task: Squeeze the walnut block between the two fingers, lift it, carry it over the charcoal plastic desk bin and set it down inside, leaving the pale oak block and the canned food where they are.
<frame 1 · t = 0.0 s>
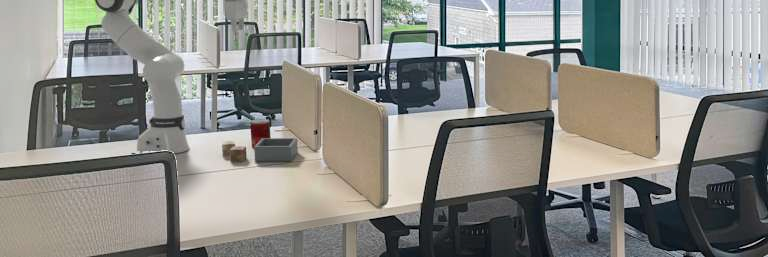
hand: (238, 30, 281), 48 cm above the table, tool pointing down, fingers open, 8 cm apart
canned food: (261, 147, 296), on the table
oak block: (229, 154, 284), on the table
bin: (276, 157, 278), on the table
walnut block: (238, 160, 275), on the table
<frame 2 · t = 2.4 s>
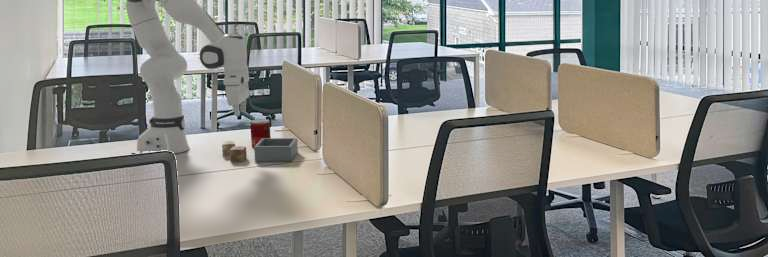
hand: (240, 113, 273), 18 cm above the table, tool pointing down, fingers open, 8 cm apart
nothing on the table moved.
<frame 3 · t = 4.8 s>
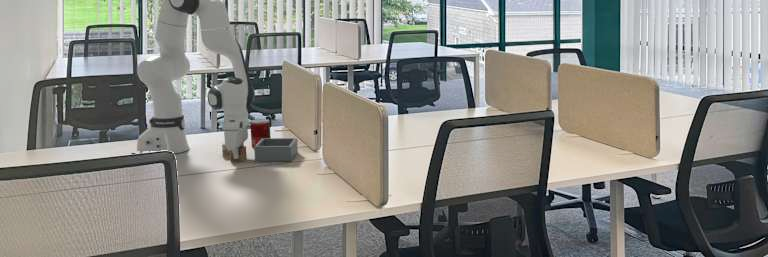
hand: (238, 156, 275), 2 cm above the table, tool pointing down, fingers closed on walnut block, 5 cm apart
walnut block: (238, 160, 275), on the table, touching gripper
everything else where it was.
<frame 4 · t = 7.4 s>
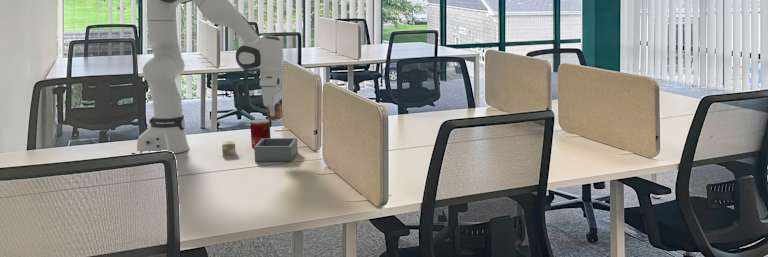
hand: (274, 114, 275), 17 cm above the table, tool pointing down, fingers closed on walnut block, 5 cm apart
walnut block: (274, 118, 275), point 16 cm above the table, touching gripper
everything else where it was.
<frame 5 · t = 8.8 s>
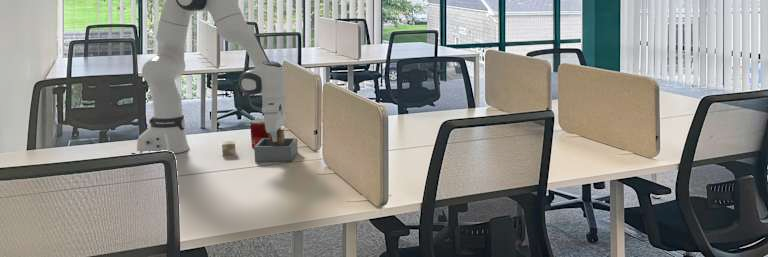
hand: (276, 139, 277), 7 cm above the table, tool pointing down, fingers closed on walnut block, 5 cm apart
walnut block: (277, 143, 277), point 6 cm above the table, touching gripper
everything else where it was.
when the fingers open (5 cm above the table, at t = 9.7 s): walnut block drops 2 cm, resting on bin.
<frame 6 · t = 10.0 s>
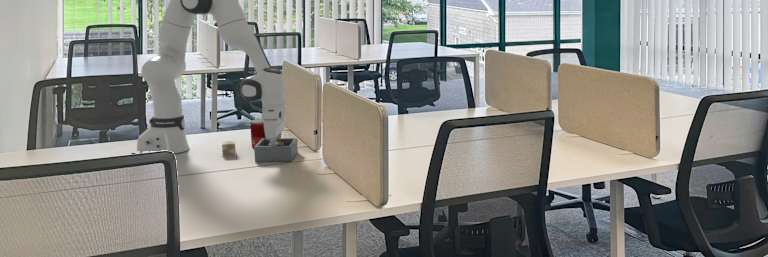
hand: (276, 145, 277), 5 cm above the table, tool pointing down, fingers open, 8 cm apart
walnut block: (276, 155, 278), point 1 cm above the table, touching bin
everything else where it was.
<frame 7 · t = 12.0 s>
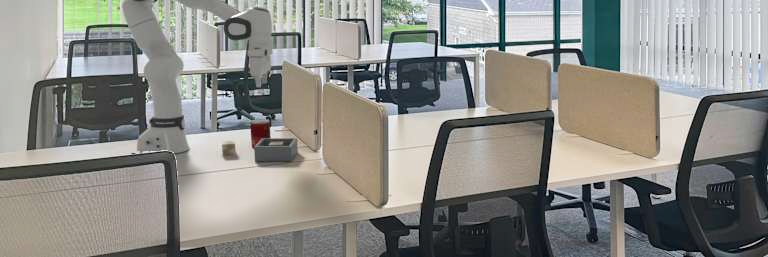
hand: (261, 85, 280), 27 cm above the table, tool pointing down, fingers open, 8 cm apart
nothing on the table moved.
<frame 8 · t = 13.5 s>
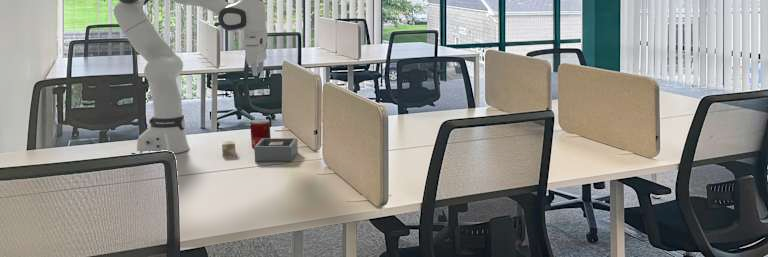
hand: (258, 74, 283), 31 cm above the table, tool pointing down, fingers open, 8 cm apart
nothing on the table moved.
at the end: walnut block inside the target area on the bin (0.0 cm from its centre), point 0.6 cm above the bin's base; the gripper is holding nothing; oak block moved 0.1 cm from its start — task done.
